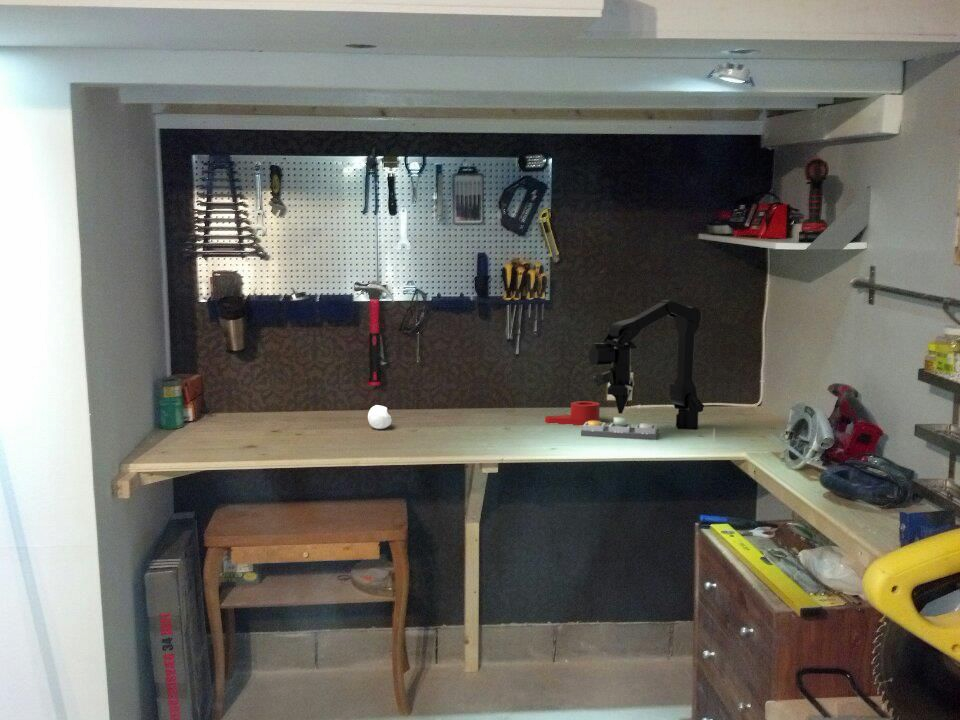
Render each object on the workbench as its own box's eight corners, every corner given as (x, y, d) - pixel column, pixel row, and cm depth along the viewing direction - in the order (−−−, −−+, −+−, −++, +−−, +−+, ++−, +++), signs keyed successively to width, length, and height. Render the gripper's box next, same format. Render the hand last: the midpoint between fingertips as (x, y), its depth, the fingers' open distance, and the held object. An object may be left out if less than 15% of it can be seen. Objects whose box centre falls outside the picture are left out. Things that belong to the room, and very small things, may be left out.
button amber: (601, 426, 295) (601, 420, 294) (599, 429, 291) (599, 423, 290) (588, 426, 296) (589, 420, 295) (587, 428, 292) (587, 422, 291)
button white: (652, 429, 290) (653, 423, 290) (651, 432, 287) (652, 425, 286) (639, 428, 291) (640, 422, 291) (638, 431, 288) (638, 425, 287)
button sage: (627, 423, 292) (627, 417, 292) (625, 425, 288) (625, 419, 288) (614, 422, 293) (614, 416, 293) (612, 425, 289) (612, 418, 289)
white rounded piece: (392, 431, 298) (392, 407, 297) (368, 431, 296) (368, 407, 295) (390, 426, 305) (390, 402, 304) (367, 426, 304) (367, 403, 303)
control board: (658, 433, 293) (658, 424, 292) (656, 439, 284) (656, 430, 284) (585, 429, 299) (585, 420, 298) (580, 435, 290) (581, 426, 289)
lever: (597, 420, 315) (597, 401, 314) (601, 426, 306) (601, 406, 305) (543, 420, 315) (544, 401, 314) (546, 426, 306) (546, 406, 305)
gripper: (599, 359, 299) (598, 407, 301) (590, 366, 282) (590, 417, 284) (634, 360, 297) (633, 408, 299) (627, 368, 279) (627, 419, 281)
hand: (620, 413), depth 290 cm, fingers closed
